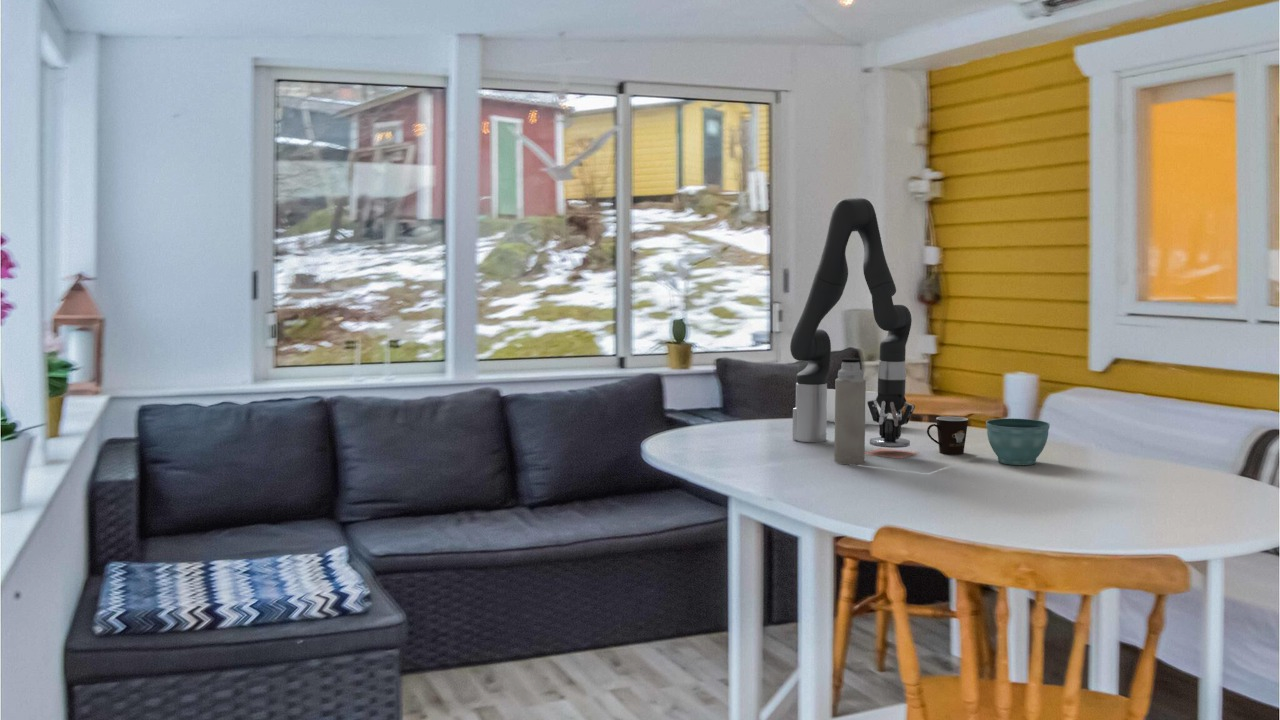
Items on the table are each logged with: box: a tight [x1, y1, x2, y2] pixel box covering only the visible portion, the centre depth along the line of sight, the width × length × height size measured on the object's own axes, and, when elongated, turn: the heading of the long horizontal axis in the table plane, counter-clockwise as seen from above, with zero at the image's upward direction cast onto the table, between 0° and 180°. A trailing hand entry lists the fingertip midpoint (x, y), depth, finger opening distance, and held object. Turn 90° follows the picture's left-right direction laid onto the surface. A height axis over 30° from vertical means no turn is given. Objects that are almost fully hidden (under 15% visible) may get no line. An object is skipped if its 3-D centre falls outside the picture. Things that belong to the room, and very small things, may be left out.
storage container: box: [827, 388, 893, 426], centre depth 375 cm, size 25×11×11 cm, turn 61°
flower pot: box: [985, 418, 1051, 466], centre depth 307 cm, size 16×16×11 cm
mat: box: [865, 447, 920, 460], centre depth 320 cm, size 12×12×1 cm
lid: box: [869, 418, 911, 449], centre depth 320 cm, size 11×11×7 cm
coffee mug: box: [926, 416, 969, 456], centre depth 320 cm, size 12×9×10 cm
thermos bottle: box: [833, 357, 867, 465], centre depth 308 cm, size 8×8×28 cm
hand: (889, 438), depth 320 cm, fingers closed on lid, 3 cm apart
